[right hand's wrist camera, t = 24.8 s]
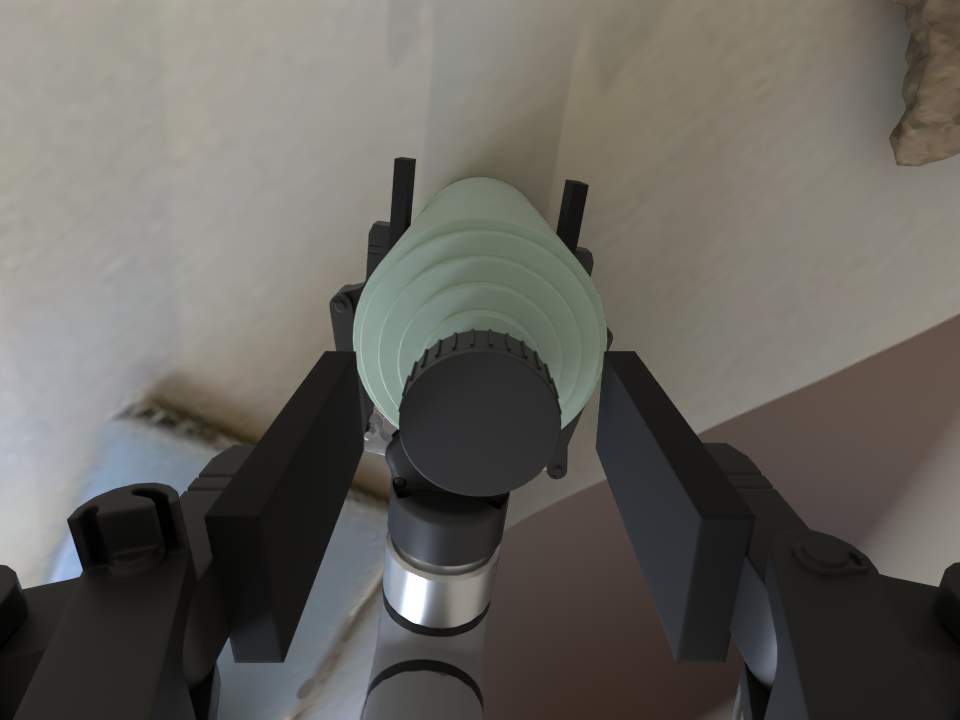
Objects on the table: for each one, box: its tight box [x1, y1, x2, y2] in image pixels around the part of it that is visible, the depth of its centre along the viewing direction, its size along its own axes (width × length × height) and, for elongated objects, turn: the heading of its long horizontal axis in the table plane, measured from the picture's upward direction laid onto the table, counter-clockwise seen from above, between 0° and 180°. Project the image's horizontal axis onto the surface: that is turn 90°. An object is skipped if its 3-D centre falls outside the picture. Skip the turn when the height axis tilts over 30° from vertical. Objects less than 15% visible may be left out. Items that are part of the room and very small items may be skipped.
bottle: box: [353, 177, 607, 429], centre depth 25 cm, size 8×8×24 cm
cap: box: [398, 329, 562, 496], centre depth 14 cm, size 4×4×2 cm
